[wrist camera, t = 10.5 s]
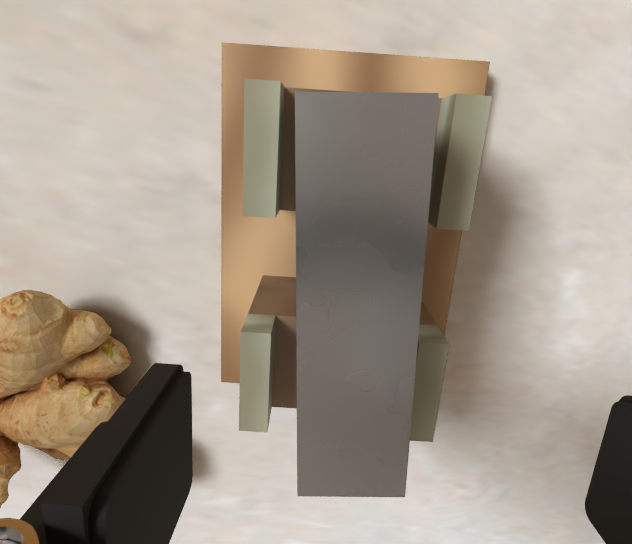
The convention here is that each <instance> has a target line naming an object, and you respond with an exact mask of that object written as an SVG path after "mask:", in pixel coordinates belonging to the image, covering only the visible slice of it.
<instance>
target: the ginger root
mask: <svg viewBox="0 0 632 544" xmlns="http://www.w3.org/2000/svg"><path fill="white" fill-rule="evenodd" d="M111 333H112V332H111V328H110V327H109V326H108V325H107V324H106V322H105V321H104V319H103V318H101V317H100V316H99V315H98V314H96V313H94V312H89V311H85V310H71V309H69V308H68V307H66V306H65V305H64V304H63V303H62V302H61V301H60V300H58V299H56V298H54V297H53V296H51V295H49V294H46V293H43V292H38V291H33V290H23V291H20V292H16V293H13V294H11V295H9V296H6V297H4V298H2V299H0V507H1V505H2V503H4V502H5V501H6V500H7V498H8V496H9V494H8V483H9V480H10V479H11V477H12V476H13V475H14V474H15V473H16V472H18V471H19V470H20V468H21V460H20V448H19V447H18V442H20V443H22V444H25V445H30V446H34V447H36V448H38V449H40V450H42V451H43V452H45V453H47V454H49V455H51V456H52V457H54V458H56V459H68V458H71V457H72V456H73V454H74V453H75V452H76V451H77V450H78V448H79V447H80V446H81V445H82V444H83V442H84V441H85V440H86V439H87V438H88V436H89V435H90V434H91V433H92V431H93V430H94V429H95V428H96V427H97V426H98V425H99V424H100V423H101V422H105V421H108V420H109V419H110V418H111V417H112V415H113V414H114V413H115V412H116V410H117V409H118V408H119V407H120V405H121V404H122V403H123V402H124V400H125V399H126V398H124V397H121V396H120V395H119V394H118V393H117V392H116V391H115V390H114V388H113V387H112V386H111V385H110V384H109V383H108V379H110V378H112V377H113V376H115V375H118V374H120V373H121V372H122V371H123V370H125V369H126V368H127V367H128V366H130V363H131V358H130V355H129V353H128V351H127V348H126V347H125V345H124V344H123V343H121V342H119V341H118V340H116V339H115V338H113V337H111V336H109V335H110V334H111Z"/></svg>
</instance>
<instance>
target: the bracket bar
mask: <svg viewBox="0 0 632 544" xmlns="http://www.w3.org/2000/svg"><path fill="white" fill-rule="evenodd" d="M438 97H439V93H393V92H295V181H296V332H297V484H298V496H340V497H405V489H406V477H407V465H408V453H409V442H410V430H411V418H412V406H413V394H414V382H415V370H416V358H417V346H418V334H419V323H420V311H421V299H422V287H423V275H424V263H425V251H426V239H427V227H428V215H429V204H430V192H431V180H432V168H433V156H434V144H435V132H436V120H437V108H438Z"/></svg>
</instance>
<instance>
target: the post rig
mask: <svg viewBox="0 0 632 544" xmlns="http://www.w3.org/2000/svg"><path fill="white" fill-rule="evenodd" d="M489 64H490V62H486V61H472V60H458V59H444V58H431V57H417V56H403V55H389V54H375V53H361V52H347V51H333V50H319V49H305V48H291V47H277V46H263V45H249V44H235V43H222V272H221V382H230V383H240V405H239V431H255V432H267V431H268V425H269V419H270V413H271V407H286V408H297V332H296V181H295V92H393V93H439V97H438V108H437V120H436V132H435V144H434V156H433V168H432V180H431V192H430V204H429V215H428V227H427V239H426V251H425V263H424V275H423V287H422V299H421V311H420V323H419V334H418V346H417V358H416V370H415V382H414V394H413V406H412V418H411V430H410V440H411V441H429V442H433V437H434V431H435V425H436V420H437V414H438V408H439V402H440V396H441V391H442V385H443V379H444V373H445V367H446V361H447V356H448V350H449V343H448V342H447V340H446V338H445V337H444V334H445V328H446V322H447V316H448V310H449V304H450V298H451V292H452V286H453V280H454V274H455V268H456V262H457V256H458V250H459V244H460V238H461V232H462V230H463V231H469V228H470V222H471V216H472V210H473V205H474V199H475V193H476V187H477V181H478V176H479V170H480V164H481V158H482V152H483V146H484V141H485V135H486V129H487V123H488V117H489V112H490V106H491V100H492V96H485V95H484V94H485V88H486V82H487V76H488V70H489Z"/></svg>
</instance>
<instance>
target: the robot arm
mask: <svg viewBox="0 0 632 544" xmlns="http://www.w3.org/2000/svg"><path fill="white" fill-rule="evenodd" d="M192 473H193V472H192V393H191V374H190V372H183V367H182V366H181V365H175V364H161V363H155V364H154V365H152V367H151V368H150V369H149V370H148V372H147V373H146V374H145V375H144V377H143V378H142V379H141V380H140V382H139V383H138V384H137V385H136V387H135V388H134V389H133V390H132V392H131V393H130V394H129V395H128V397H127V398H126V399H125V400H124V402H123V403H122V404H121V405H120V407H119V408H118V409H117V410H116V412H115V413H114V414H113V415H112V417H111V418H110V419H109V420H108V421H105V422H101V423H100V424H99V425H98V426H97V427H96V428H95V429H94V430H93V431H92V433H91V434H90V435H89V436H88V438H87V439H86V440H85V441H84V442H83V444H82V445H81V446H80V447H79V448H78V450H77V451H76V452H75V453H74V454H73V456H72V457H71V458H70V459H69V460H68V462H67V463H66V464H65V465H64V467H63V468H62V469H61V470H60V471H59V473H58V474H57V475H56V476H55V477H54V479H53V480H52V481H51V482H50V483H49V485H48V486H47V487H46V488H45V489H44V491H43V492H42V493H41V494H40V496H39V497H38V498H37V499H36V500H35V502H34V503H33V504H32V505H31V506H30V508H29V509H28V510H27V511H26V512H25V514H24V515H23V516H22V517H21V518H20V520H19V519H13V518H2V519H0V544H169V542H170V539H171V537H172V534H173V532H174V529H175V527H176V524H177V522H178V519H179V517H180V514H181V512H182V509H183V507H184V504H185V502H186V499H187V497H188V494H189V491H190V488H191V483H192ZM585 509H586V514H587V516H588V518H589V520H590V522H591V523H592V525H593V526H594V527H595V529H596V530H597V532H598V533H599V534H600V536H601V537H602V539H603V540H604V541H605V543H606V544H632V396H624V397H622V398H621V399H620V400H619V402H616V403H614V404H613V406H612V408H611V412H610V415H609V419H608V422H607V426H606V429H605V433H604V436H603V440H602V444H601V447H600V451H599V454H598V458H597V461H596V465H595V468H594V472H593V475H592V479H591V482H590V486H589V490H588V493H587V497H586V501H585Z"/></svg>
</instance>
